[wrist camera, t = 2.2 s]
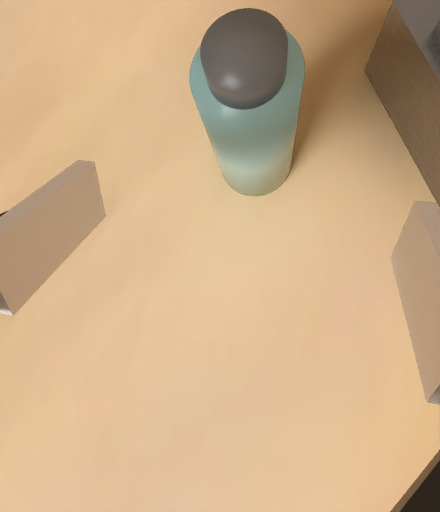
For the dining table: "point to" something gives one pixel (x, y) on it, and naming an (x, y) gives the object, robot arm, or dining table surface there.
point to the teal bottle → (249, 97)
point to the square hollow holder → (412, 80)
